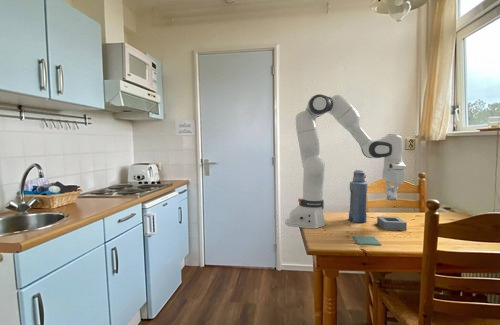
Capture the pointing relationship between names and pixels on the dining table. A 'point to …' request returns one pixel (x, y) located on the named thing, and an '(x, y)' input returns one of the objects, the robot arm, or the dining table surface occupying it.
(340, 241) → the dining table surface
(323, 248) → the dining table surface
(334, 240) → the dining table surface
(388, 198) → the end cover
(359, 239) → the mat
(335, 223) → the dining table surface
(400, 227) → the housing
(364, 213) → the bottle
